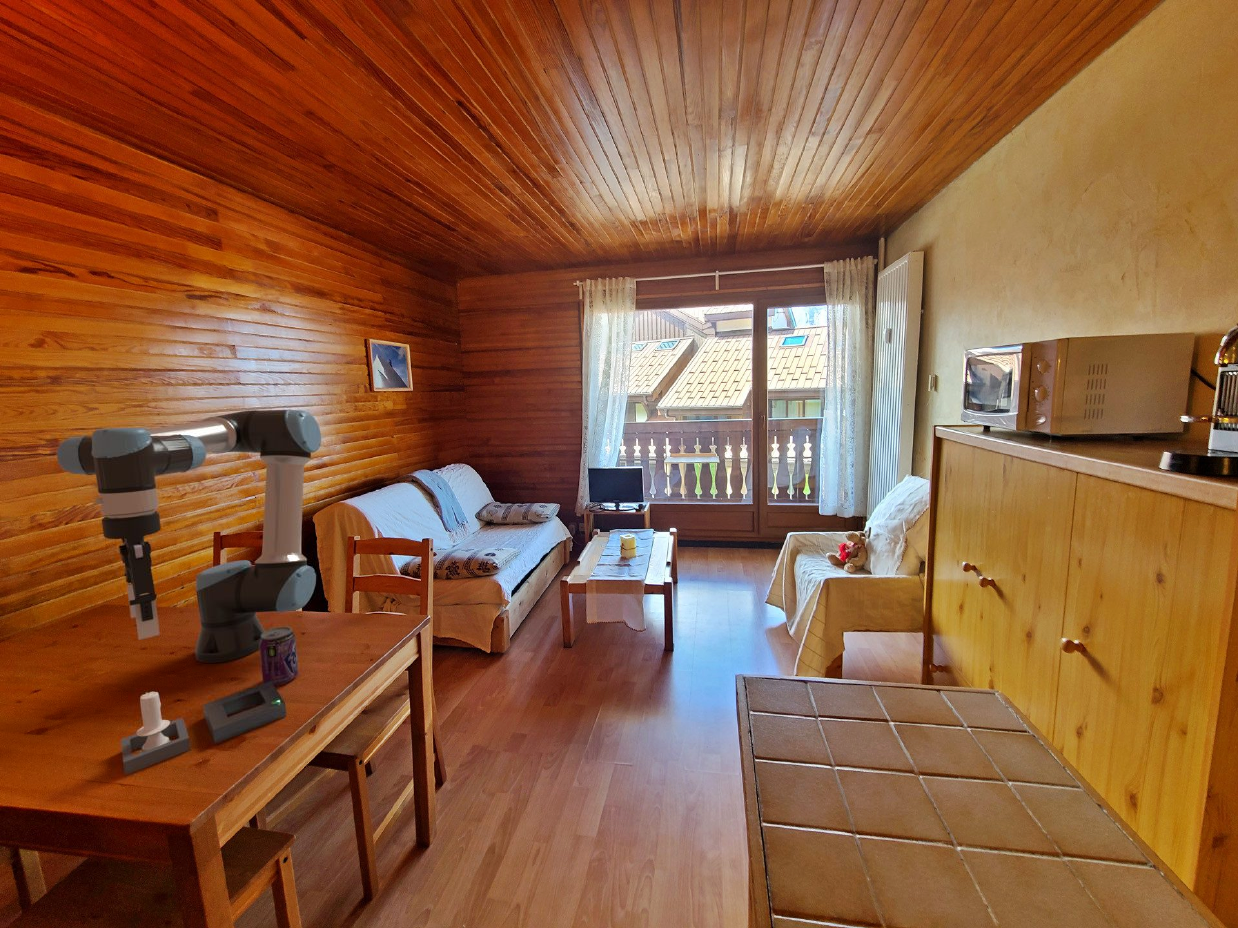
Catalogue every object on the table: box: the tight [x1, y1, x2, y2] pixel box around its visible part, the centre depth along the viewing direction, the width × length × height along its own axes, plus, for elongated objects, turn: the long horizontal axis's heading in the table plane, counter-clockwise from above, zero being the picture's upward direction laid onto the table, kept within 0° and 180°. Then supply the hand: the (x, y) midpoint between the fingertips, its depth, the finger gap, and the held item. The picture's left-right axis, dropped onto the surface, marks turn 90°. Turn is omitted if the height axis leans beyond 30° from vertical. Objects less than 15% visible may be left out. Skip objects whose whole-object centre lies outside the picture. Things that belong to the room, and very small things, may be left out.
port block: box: [202, 681, 287, 745], centre depth 106 cm, size 12×12×3 cm
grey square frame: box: [120, 717, 191, 776], centre depth 96 cm, size 9×9×2 cm
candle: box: [135, 691, 173, 753], centre depth 96 cm, size 5×5×12 cm
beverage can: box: [259, 626, 300, 686], centre depth 120 cm, size 7×7×12 cm
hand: (144, 625), depth 94 cm, fingers open, 13 cm apart
